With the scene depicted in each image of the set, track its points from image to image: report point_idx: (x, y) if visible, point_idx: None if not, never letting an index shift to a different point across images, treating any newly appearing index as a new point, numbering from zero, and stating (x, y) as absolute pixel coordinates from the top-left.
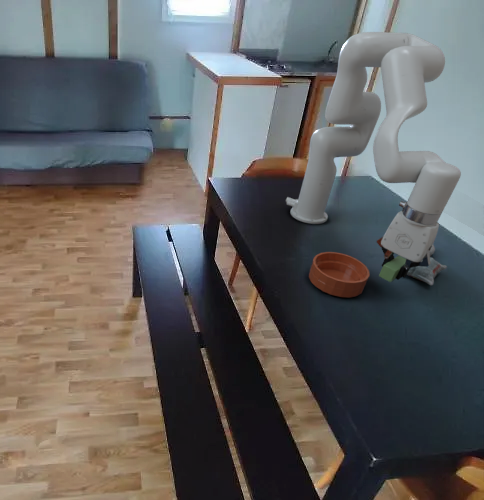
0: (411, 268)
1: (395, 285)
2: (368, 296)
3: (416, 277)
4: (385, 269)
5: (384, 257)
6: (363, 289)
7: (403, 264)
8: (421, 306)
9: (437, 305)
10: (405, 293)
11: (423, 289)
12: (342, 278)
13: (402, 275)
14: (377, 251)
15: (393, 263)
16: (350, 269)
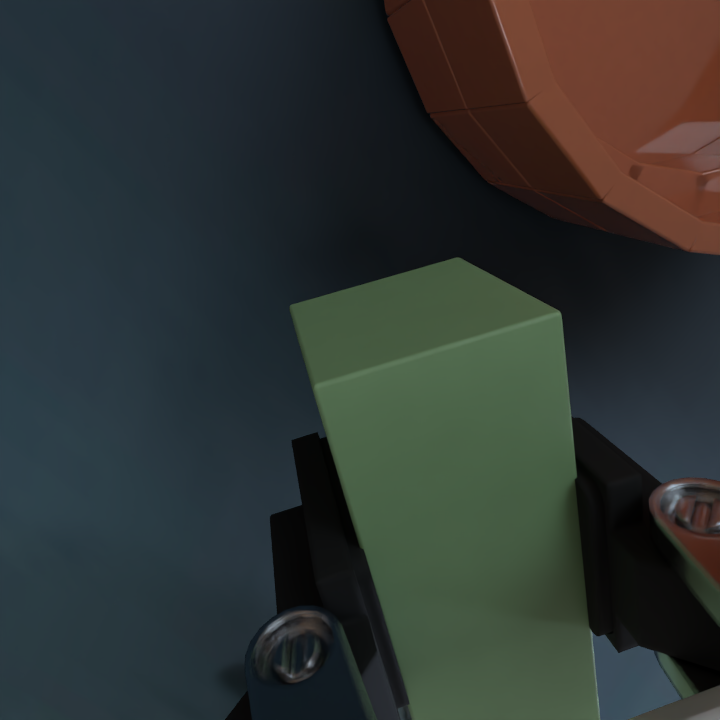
0: None
1: None
2: (332, 100)
3: None
4: (470, 308)
5: (697, 479)
6: (420, 82)
7: (418, 657)
8: (51, 492)
9: (36, 621)
10: (251, 491)
11: None
12: (655, 40)
13: (292, 518)
14: None
15: (509, 528)
16: (712, 165)
